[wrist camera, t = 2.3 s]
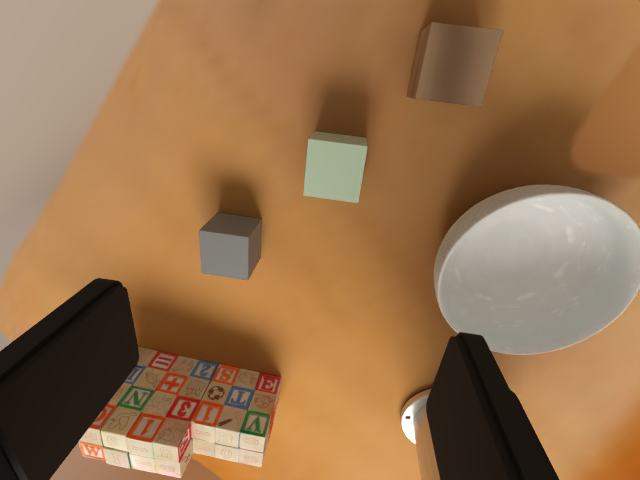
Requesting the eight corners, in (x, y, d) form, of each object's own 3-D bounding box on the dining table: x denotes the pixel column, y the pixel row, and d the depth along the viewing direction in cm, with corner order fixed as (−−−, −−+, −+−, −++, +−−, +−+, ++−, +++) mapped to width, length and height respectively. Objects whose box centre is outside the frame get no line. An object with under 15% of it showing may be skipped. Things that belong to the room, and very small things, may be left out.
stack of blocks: (282, 375, 47) (259, 465, 36) (278, 404, 50) (255, 496, 39) (137, 345, 47) (70, 425, 36) (141, 376, 50) (80, 458, 39)
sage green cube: (366, 137, 32) (367, 146, 27) (358, 187, 34) (358, 203, 30) (315, 131, 32) (308, 138, 28) (310, 180, 34) (303, 195, 30)
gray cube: (261, 218, 37) (248, 237, 32) (260, 257, 39) (248, 280, 34) (218, 212, 37) (198, 230, 32) (219, 251, 39) (201, 273, 35)
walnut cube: (479, 38, 27) (503, 30, 23) (462, 103, 30) (480, 106, 25) (419, 32, 28) (432, 22, 23) (406, 96, 30) (415, 98, 25)
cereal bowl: (515, 133, 30) (557, 147, 24) (631, 235, 33) (695, 272, 27) (391, 259, 37) (398, 295, 31) (496, 334, 40) (522, 382, 34)
